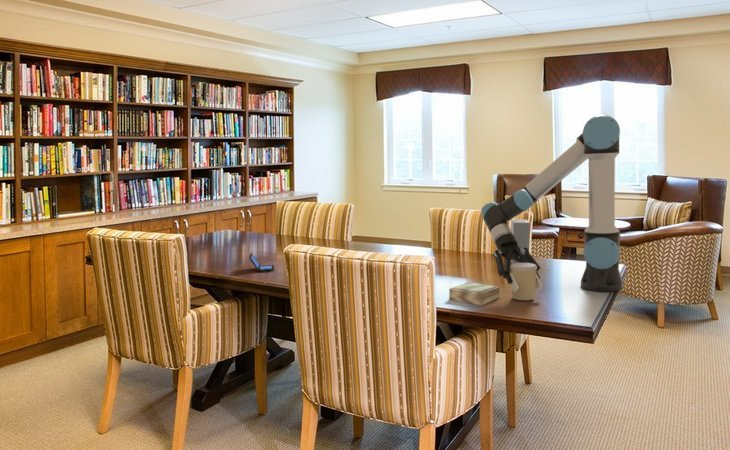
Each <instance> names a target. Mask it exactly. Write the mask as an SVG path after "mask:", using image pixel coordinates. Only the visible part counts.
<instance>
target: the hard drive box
mask: <svg viewBox="0 0 730 450" xmlns="http://www.w3.org/2000/svg"><path fill="white" fill-rule="evenodd" d="M530 226H531V223H530V221H529V220H528V219H523V218H522V219H516V218H512V219H511V220H510V229H511V231H512V233H513V235H514V237H515V239H516V241H517V245H518V247H519V248H520V249H524V248H525V247H526V248H527V249H528V251H529V252H530V234H531V233H530V230H531V229H530ZM519 257H520V256H519ZM519 257H518V258H519ZM512 263H520V262H517V261H516V260H510V264H512Z"/></svg>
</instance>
